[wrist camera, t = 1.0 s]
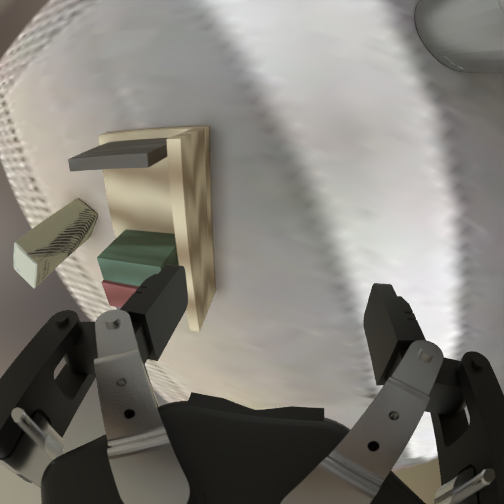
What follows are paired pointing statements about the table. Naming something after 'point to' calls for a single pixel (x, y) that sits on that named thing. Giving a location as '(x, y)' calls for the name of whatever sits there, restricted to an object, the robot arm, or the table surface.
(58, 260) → the box
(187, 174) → the shelf
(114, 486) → the robot arm
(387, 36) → the table surface
